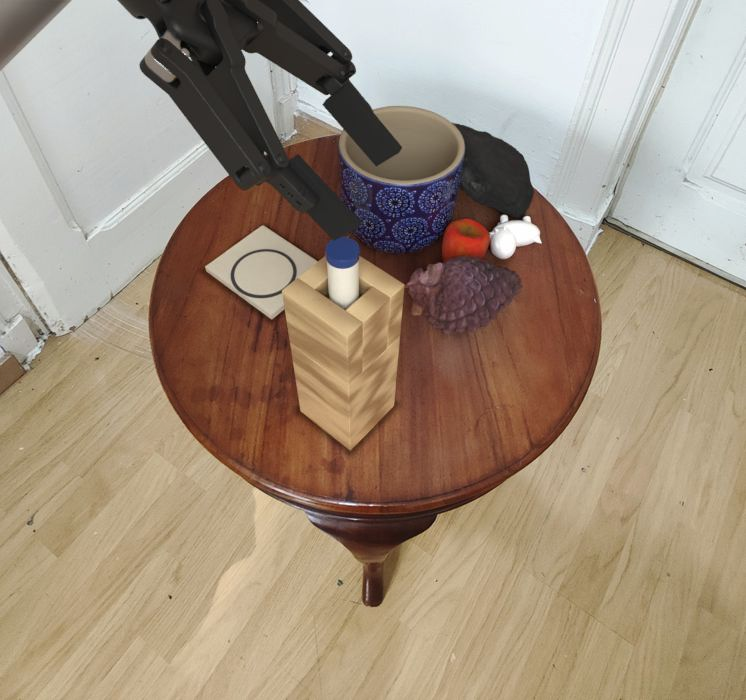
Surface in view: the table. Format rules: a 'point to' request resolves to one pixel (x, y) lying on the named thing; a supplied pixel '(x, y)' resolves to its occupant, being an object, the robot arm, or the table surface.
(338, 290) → the marker
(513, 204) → the rock
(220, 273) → the drawing board
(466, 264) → the pine cone
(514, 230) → the toy creature
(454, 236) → the apple
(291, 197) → the robot arm
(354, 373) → the pen block
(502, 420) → the table surface
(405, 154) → the planter
